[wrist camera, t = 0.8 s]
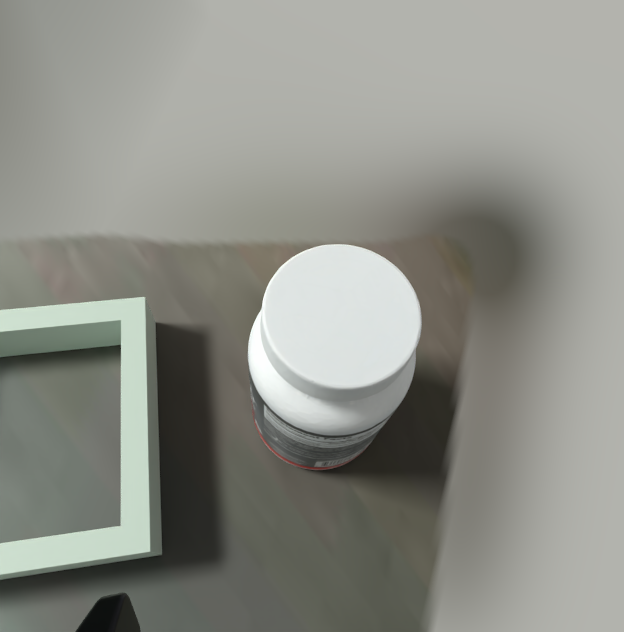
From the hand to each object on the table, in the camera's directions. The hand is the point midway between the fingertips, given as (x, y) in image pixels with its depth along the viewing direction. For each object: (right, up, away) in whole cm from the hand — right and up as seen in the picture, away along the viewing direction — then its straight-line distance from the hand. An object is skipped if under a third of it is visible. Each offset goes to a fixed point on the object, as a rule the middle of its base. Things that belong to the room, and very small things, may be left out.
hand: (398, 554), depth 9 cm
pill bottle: (-1, 0, +15) cm, 16 cm away
